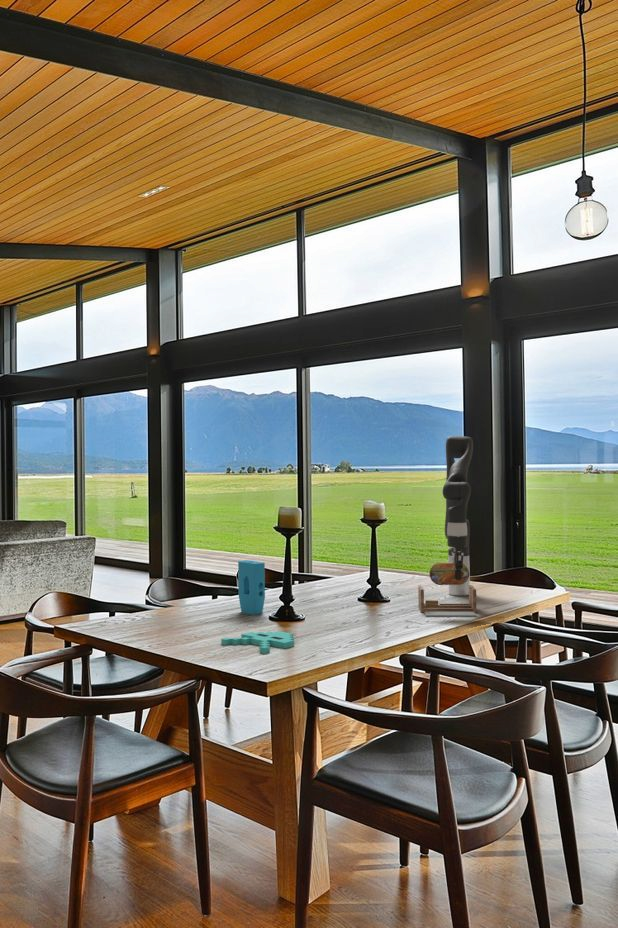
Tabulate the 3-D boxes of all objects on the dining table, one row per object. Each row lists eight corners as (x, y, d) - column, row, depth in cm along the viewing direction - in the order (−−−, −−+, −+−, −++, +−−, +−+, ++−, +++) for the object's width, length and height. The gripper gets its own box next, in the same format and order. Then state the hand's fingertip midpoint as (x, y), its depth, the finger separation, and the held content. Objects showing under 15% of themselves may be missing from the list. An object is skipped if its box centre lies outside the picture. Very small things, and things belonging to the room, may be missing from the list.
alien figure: (264, 655, 240) (308, 643, 255) (264, 648, 240) (308, 636, 255) (221, 645, 254) (264, 635, 269) (221, 638, 254) (264, 628, 269)
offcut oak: (425, 604, 313) (425, 599, 313) (438, 604, 312) (438, 599, 312) (425, 605, 311) (425, 600, 311) (438, 605, 310) (438, 600, 310)
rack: (418, 607, 314) (418, 585, 314) (472, 607, 313) (471, 585, 313) (420, 612, 303) (420, 589, 303) (476, 612, 302) (476, 589, 302)
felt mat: (424, 613, 302) (424, 611, 302) (473, 613, 301) (473, 611, 301) (426, 616, 295) (426, 615, 295) (476, 616, 294) (476, 615, 294)
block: (237, 611, 310) (237, 561, 310) (247, 609, 313) (247, 560, 313) (255, 615, 301) (255, 563, 301) (266, 613, 304) (265, 562, 304)
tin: (429, 585, 298) (429, 563, 297) (428, 583, 301) (428, 561, 300) (469, 585, 297) (469, 563, 296) (468, 583, 300) (468, 561, 299)
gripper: (445, 532, 305) (445, 576, 305) (449, 536, 291) (450, 582, 292) (464, 532, 305) (465, 576, 305) (469, 535, 291) (470, 582, 291)
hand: (457, 579), depth 298 cm, fingers closed on tin, 2 cm apart
